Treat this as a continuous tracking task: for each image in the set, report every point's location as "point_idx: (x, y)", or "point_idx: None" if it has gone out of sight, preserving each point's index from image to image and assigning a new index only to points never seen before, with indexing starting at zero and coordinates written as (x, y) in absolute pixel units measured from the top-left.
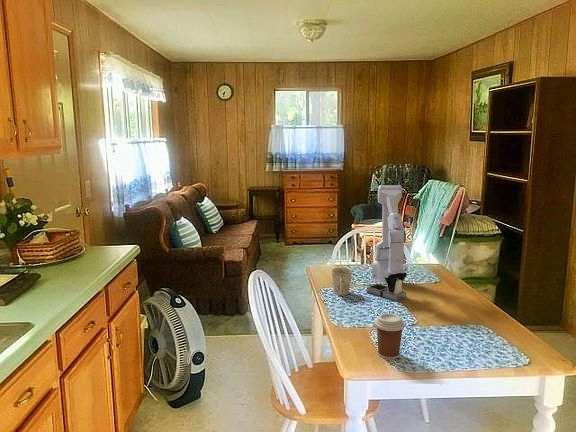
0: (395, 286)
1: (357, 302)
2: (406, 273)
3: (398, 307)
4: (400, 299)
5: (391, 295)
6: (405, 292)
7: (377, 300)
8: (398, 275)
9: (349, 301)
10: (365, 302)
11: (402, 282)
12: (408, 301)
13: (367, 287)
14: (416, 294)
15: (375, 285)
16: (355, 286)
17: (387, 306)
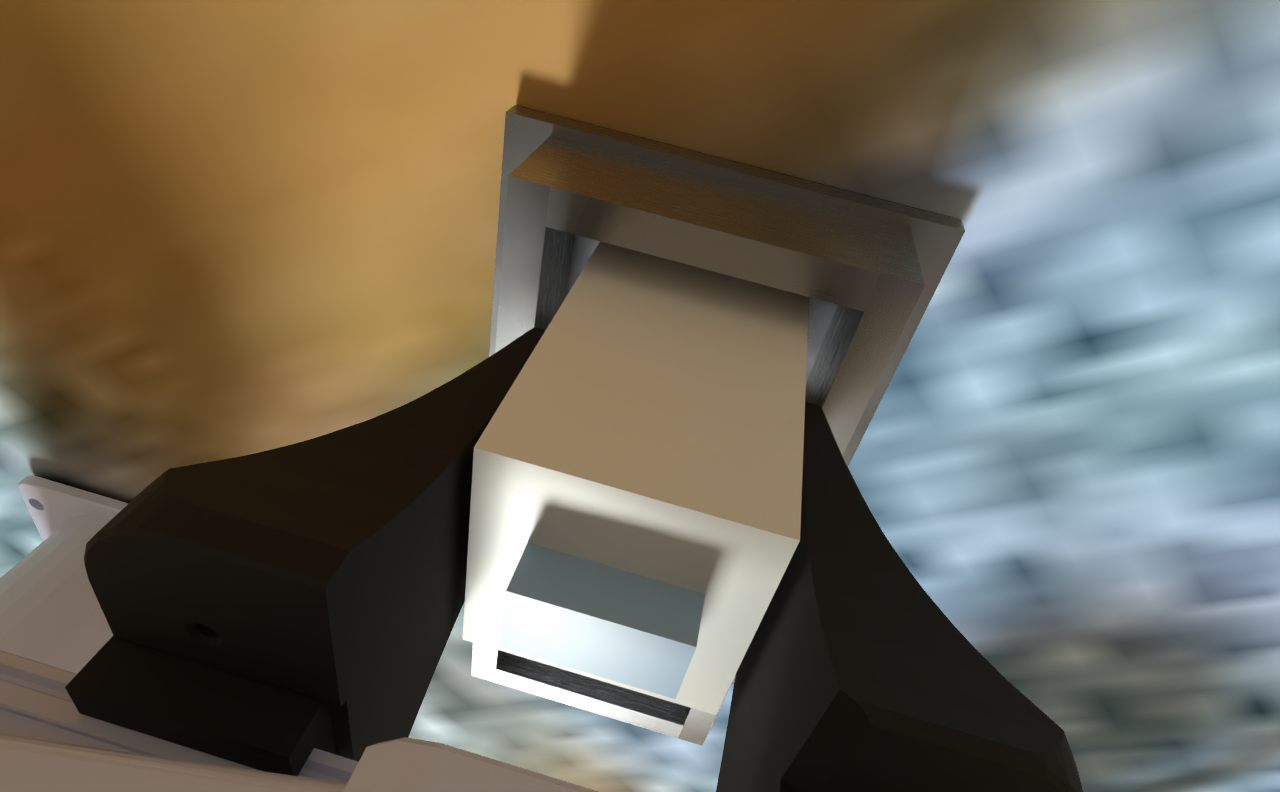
0: (797, 473)
1: (1158, 693)
2: (137, 541)
3: (1247, 65)
4: (765, 192)
5: (863, 392)
6: (556, 185)
7: (941, 511)
8: (393, 659)
9: (1147, 760)
10: (1118, 621)
11: (440, 403)
12: (700, 10)
13: (703, 735)
14: (203, 27)
15: (544, 673)
16: (571, 761)
17: (1237, 300)
